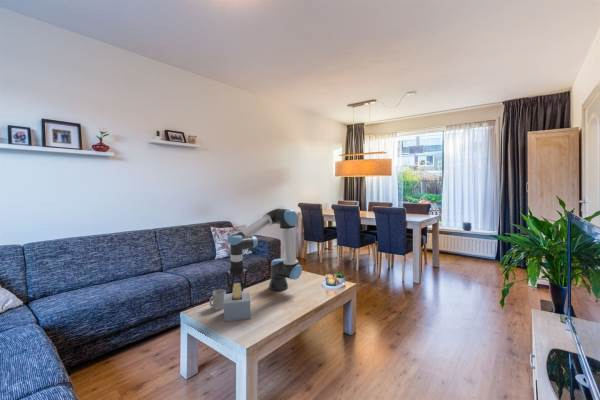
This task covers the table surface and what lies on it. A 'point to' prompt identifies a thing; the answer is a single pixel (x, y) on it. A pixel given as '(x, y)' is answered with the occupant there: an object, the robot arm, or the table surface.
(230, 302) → the grey box with hole
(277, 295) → the table surface
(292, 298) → the table surface
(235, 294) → the gold rectangular block
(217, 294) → the mug
